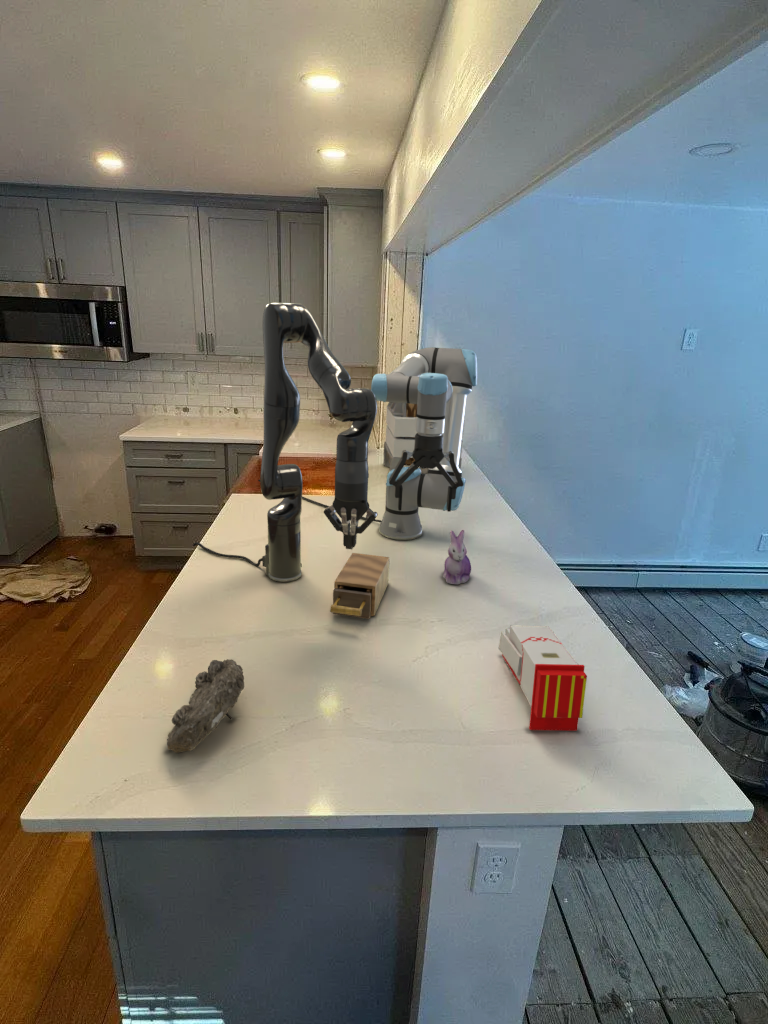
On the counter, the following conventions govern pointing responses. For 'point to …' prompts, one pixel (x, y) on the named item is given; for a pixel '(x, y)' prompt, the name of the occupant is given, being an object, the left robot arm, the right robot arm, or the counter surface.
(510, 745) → the counter surface
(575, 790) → the counter surface
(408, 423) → the grey slatted crate
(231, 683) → the fossil
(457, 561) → the figurine
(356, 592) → the drawer
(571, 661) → the toy
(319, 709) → the counter surface
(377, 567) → the cabinet
